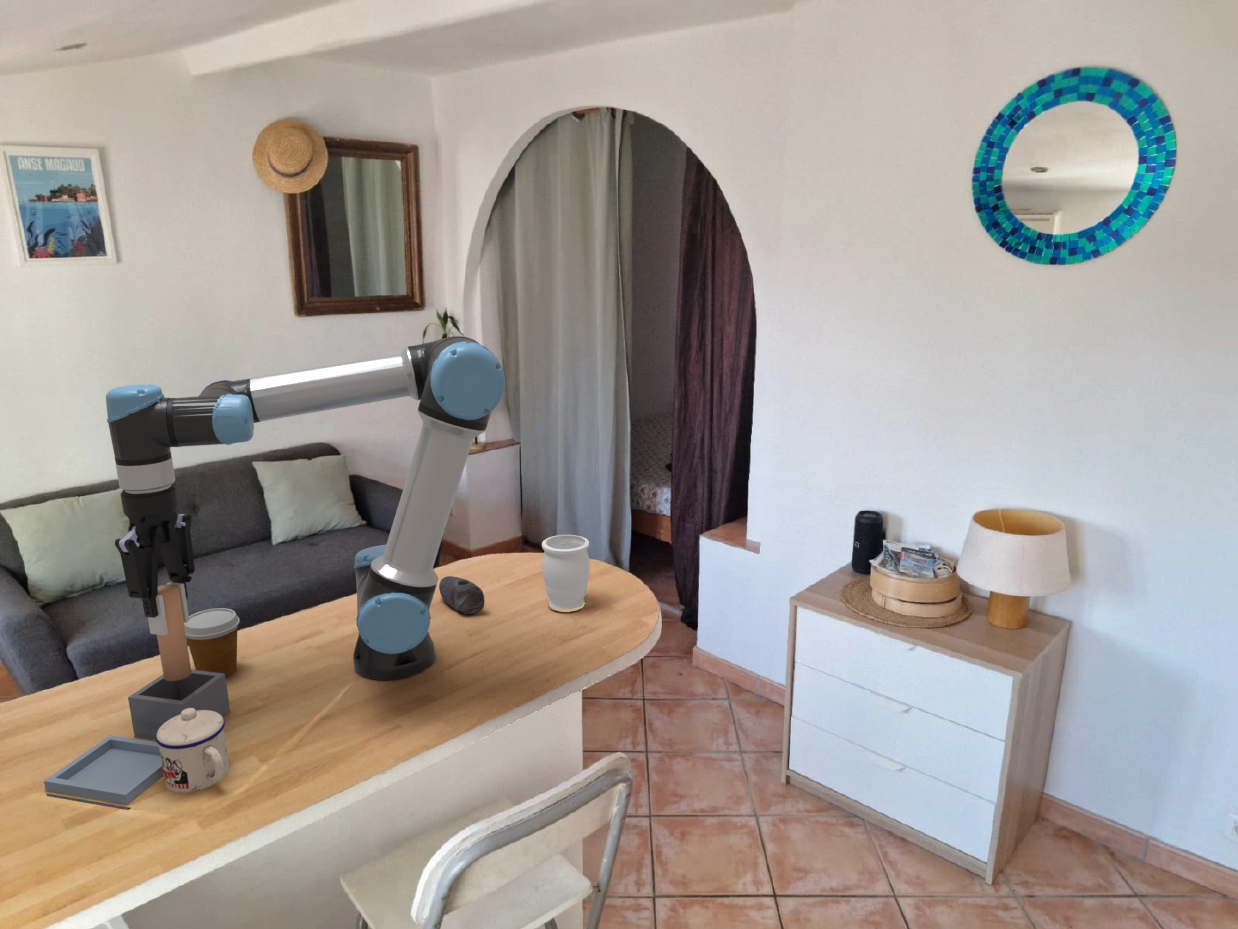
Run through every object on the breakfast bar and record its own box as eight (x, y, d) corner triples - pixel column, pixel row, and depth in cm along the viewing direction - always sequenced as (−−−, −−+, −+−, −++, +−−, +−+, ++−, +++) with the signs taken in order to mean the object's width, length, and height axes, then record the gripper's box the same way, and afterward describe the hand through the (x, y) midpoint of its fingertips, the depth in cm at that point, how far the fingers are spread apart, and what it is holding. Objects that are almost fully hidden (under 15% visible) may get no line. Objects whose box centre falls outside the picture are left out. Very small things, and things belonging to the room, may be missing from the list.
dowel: (197, 670, 137) (184, 585, 133) (179, 682, 133) (165, 595, 129) (176, 667, 138) (162, 583, 134) (158, 679, 134) (143, 593, 130)
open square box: (230, 716, 141) (225, 673, 139) (188, 750, 132) (182, 704, 130) (180, 709, 143) (173, 667, 141) (135, 741, 134) (127, 697, 132)
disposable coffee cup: (224, 693, 149) (216, 631, 146) (177, 687, 150) (168, 627, 147) (257, 667, 158) (249, 609, 155) (212, 662, 159) (204, 605, 156)
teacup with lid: (152, 784, 123) (140, 714, 121) (211, 755, 131) (202, 688, 128) (194, 815, 117) (183, 742, 114) (254, 782, 124) (245, 713, 121)
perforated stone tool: (432, 600, 188) (430, 571, 186) (452, 593, 191) (451, 565, 190) (466, 622, 177) (464, 591, 175) (487, 615, 180) (486, 585, 179)
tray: (188, 760, 129) (186, 746, 128) (128, 810, 118) (125, 795, 117) (112, 749, 132) (110, 735, 131) (46, 796, 121) (43, 781, 120)
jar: (588, 616, 180) (588, 550, 176) (540, 615, 180) (539, 550, 176) (591, 596, 190) (590, 534, 186) (545, 595, 190) (544, 533, 186)
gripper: (167, 471, 136) (187, 603, 142) (81, 501, 120) (107, 649, 126) (207, 473, 134) (226, 607, 140) (125, 504, 118) (150, 654, 124)
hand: (170, 626), depth 133 cm, fingers closed on dowel, 4 cm apart
